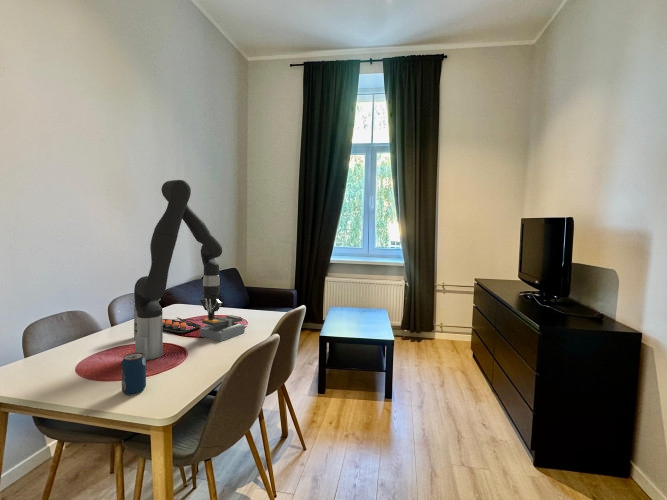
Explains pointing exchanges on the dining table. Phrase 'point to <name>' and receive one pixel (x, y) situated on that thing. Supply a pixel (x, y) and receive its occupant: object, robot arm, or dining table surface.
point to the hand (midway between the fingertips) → (211, 319)
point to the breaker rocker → (222, 320)
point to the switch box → (217, 332)
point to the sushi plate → (173, 325)
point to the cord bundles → (226, 328)
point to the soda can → (133, 373)
